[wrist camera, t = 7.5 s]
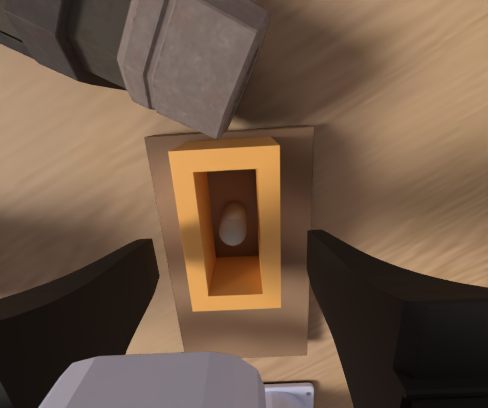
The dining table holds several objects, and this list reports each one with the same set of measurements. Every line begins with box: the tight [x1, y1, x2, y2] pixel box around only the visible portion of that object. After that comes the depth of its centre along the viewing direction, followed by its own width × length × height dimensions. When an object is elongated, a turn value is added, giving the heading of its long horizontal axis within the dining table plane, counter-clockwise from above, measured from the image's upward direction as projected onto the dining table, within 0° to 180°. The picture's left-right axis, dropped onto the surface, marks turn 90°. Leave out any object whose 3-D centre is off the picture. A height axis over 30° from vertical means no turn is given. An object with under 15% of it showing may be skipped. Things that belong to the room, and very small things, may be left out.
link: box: [168, 137, 281, 312], centre depth 15 cm, size 9×5×4 cm, turn 3°
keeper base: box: [144, 126, 314, 358], centre depth 17 cm, size 18×10×5 cm, turn 3°
